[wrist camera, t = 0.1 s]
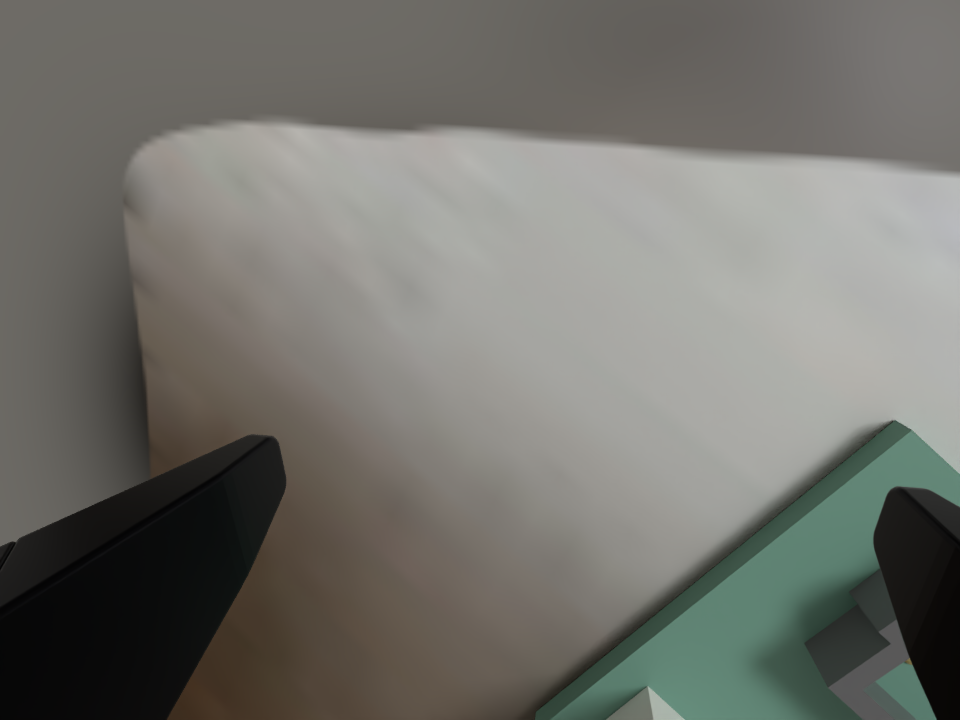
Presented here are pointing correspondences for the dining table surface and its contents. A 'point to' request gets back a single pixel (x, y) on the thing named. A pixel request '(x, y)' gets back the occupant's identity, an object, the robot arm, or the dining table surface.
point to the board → (770, 607)
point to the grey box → (646, 708)
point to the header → (863, 652)
